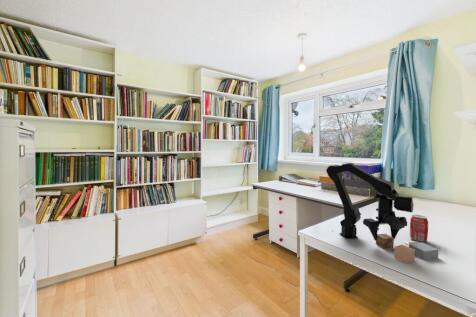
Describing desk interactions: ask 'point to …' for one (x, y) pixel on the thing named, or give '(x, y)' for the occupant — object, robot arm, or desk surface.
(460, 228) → the desk surface
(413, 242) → the swatch
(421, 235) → the soda can
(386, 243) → the walnut cube
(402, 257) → the terracotta cube
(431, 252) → the slate base
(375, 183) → the robot arm
